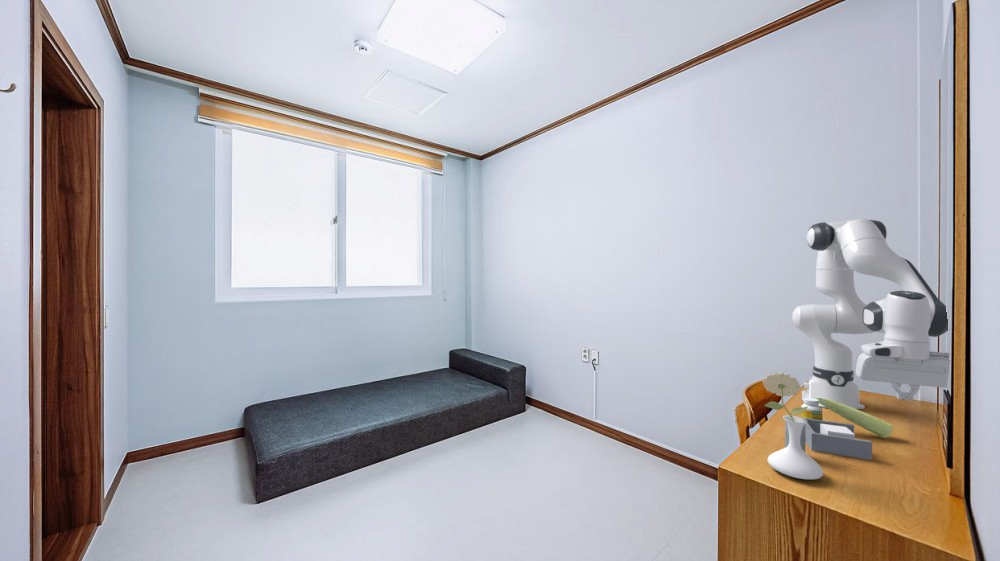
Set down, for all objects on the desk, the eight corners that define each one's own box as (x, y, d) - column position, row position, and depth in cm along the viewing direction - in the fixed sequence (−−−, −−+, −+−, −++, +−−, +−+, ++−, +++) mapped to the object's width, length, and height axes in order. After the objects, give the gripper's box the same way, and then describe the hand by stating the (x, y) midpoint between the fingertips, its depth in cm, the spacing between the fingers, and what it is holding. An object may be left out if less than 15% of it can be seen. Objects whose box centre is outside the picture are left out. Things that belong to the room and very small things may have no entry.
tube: (893, 419, 118) (820, 387, 126) (895, 432, 115) (820, 397, 122) (881, 429, 122) (810, 397, 129) (882, 441, 118) (810, 407, 126)
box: (799, 432, 123) (799, 417, 122) (852, 440, 117) (852, 424, 117) (811, 450, 110) (811, 433, 110) (871, 460, 104) (871, 442, 104)
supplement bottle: (811, 424, 129) (810, 396, 129) (827, 430, 124) (826, 400, 124) (797, 425, 128) (796, 397, 128) (812, 432, 123) (811, 402, 123)
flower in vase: (830, 475, 96) (831, 376, 96) (814, 490, 90) (816, 384, 90) (770, 455, 107) (771, 366, 107) (752, 467, 100) (753, 372, 100)
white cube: (845, 447, 113) (845, 426, 113) (854, 455, 107) (854, 434, 107) (819, 443, 115) (820, 423, 115) (827, 451, 110) (827, 430, 110)
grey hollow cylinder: (786, 450, 110) (786, 414, 110) (806, 455, 107) (806, 419, 107) (783, 455, 107) (783, 419, 107) (803, 461, 104) (804, 423, 104)
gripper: (952, 351, 104) (951, 401, 105) (854, 345, 113) (853, 391, 114) (967, 356, 98) (965, 409, 99) (862, 349, 108) (861, 397, 108)
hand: (904, 399), depth 106 cm, fingers closed
